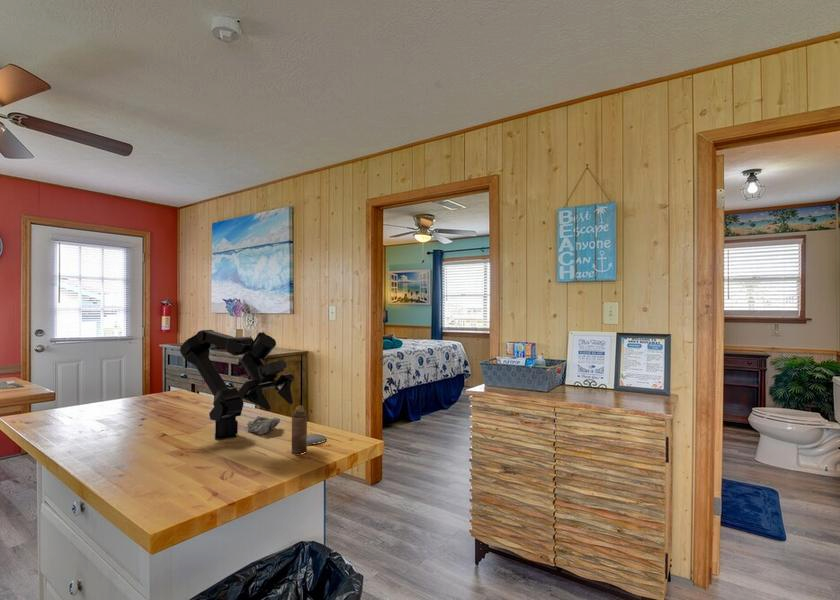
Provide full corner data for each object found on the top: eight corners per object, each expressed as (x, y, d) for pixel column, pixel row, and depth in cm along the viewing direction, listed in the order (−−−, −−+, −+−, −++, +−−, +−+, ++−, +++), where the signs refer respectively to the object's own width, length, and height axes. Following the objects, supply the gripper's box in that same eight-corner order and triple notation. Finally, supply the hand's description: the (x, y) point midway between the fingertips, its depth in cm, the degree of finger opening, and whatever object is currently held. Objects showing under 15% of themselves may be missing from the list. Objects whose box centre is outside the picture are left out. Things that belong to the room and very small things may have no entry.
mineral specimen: (261, 439, 149) (238, 431, 155) (285, 432, 159) (262, 424, 165) (263, 421, 149) (239, 414, 155) (287, 415, 159) (264, 409, 165)
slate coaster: (297, 446, 139) (297, 445, 139) (292, 438, 148) (292, 436, 148) (329, 442, 143) (329, 441, 143) (321, 434, 152) (321, 432, 152)
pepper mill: (292, 455, 131) (293, 407, 131) (290, 451, 135) (290, 404, 135) (308, 453, 133) (308, 406, 133) (305, 449, 137) (305, 403, 137)
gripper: (245, 354, 132) (271, 395, 127) (290, 349, 149) (315, 385, 143) (226, 378, 136) (251, 419, 130) (273, 371, 152) (297, 406, 147)
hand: (281, 406), depth 138 cm, fingers open, 9 cm apart
